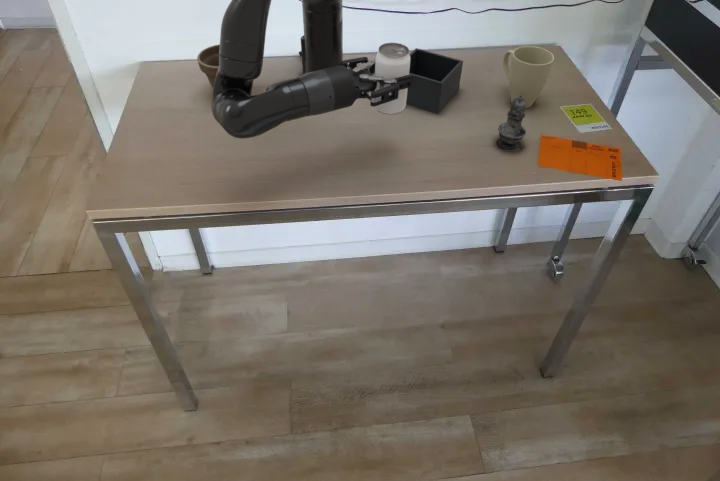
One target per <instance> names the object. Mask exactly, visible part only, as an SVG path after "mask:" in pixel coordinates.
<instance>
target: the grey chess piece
mask: <svg viewBox="0 0 720 481" xmlns="http://www.w3.org/2000/svg"><path fill="white" fill-rule="evenodd" d="M521 97H522V95H519V97H517V98H514V99H513V100H512V103H511V104H510V108H509V110H508V111H507V112H506V115H507V118H506V119H507V120H506V122H503V123H501V124H499V126H498V128H497V131H498V136H499V138H498V139H496V146H497V147H498V149H500V150H502V151H505V152H517V151H520V149H521V148H522V142H521V141H522V140H523V138H524V137H525V136H526V135H527V129H526V128H525V127H524V126H523V125H522V122H523V120H524V118H525V117H526V114H525V111H526V110H525V109H526V108H525V106H526V101H525V99H523V98H521Z"/></svg>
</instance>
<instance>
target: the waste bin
mask: <svg viewBox="0 0 720 481" xmlns="http://www.w3.org/2000/svg"><path fill="white" fill-rule="evenodd" d="M409 55H410V70H409V75H412V76H413V85H412V86H411V87H410V88H408V90H407V99H406V106H410V107H414V108H417V109H419V110H423V111H426V112H429V113H433V114H435V115H439V114H440V113H441V111H443V109H444V108H445V107H446V106H447V105H448V104H449V102H450V101H451V100H452V99H453V98H454V97H455V95H456V94H457V93H458V92H459V90H460V84H461V78H462V72H463V66H464V60H461V59H458V58H454V57H451V56H446V55H443V54H440V53H436V52H431V51H428V50H425V49H421V48H418V47H416V48H414V49H413V51H411V52H409Z"/></svg>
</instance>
